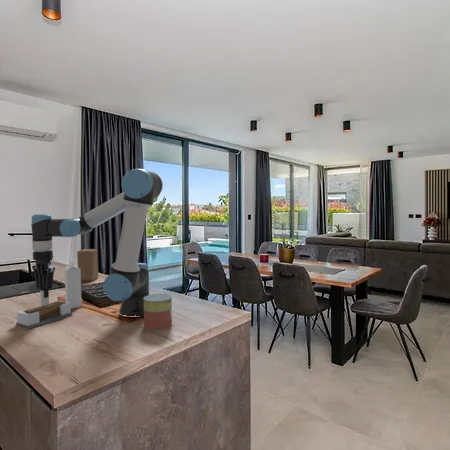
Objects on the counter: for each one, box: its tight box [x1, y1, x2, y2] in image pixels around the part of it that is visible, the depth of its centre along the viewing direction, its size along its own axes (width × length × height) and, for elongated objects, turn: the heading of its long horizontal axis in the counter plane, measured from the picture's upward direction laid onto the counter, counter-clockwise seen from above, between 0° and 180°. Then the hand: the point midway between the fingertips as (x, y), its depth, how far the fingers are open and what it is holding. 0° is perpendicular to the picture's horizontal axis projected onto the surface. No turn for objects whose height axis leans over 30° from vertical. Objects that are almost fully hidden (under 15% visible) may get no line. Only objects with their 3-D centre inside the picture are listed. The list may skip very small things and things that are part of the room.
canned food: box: [143, 293, 173, 332], centre depth 135 cm, size 11×11×12 cm
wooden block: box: [76, 248, 99, 282], centre depth 220 cm, size 10×10×20 cm
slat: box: [24, 300, 63, 321], centre depth 144 cm, size 4×15×5 cm, turn 150°
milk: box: [64, 261, 83, 310], centre depth 162 cm, size 6×6×22 cm
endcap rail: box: [15, 300, 73, 330], centre depth 144 cm, size 10×19×6 cm, turn 150°
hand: (44, 304), depth 144 cm, fingers closed
